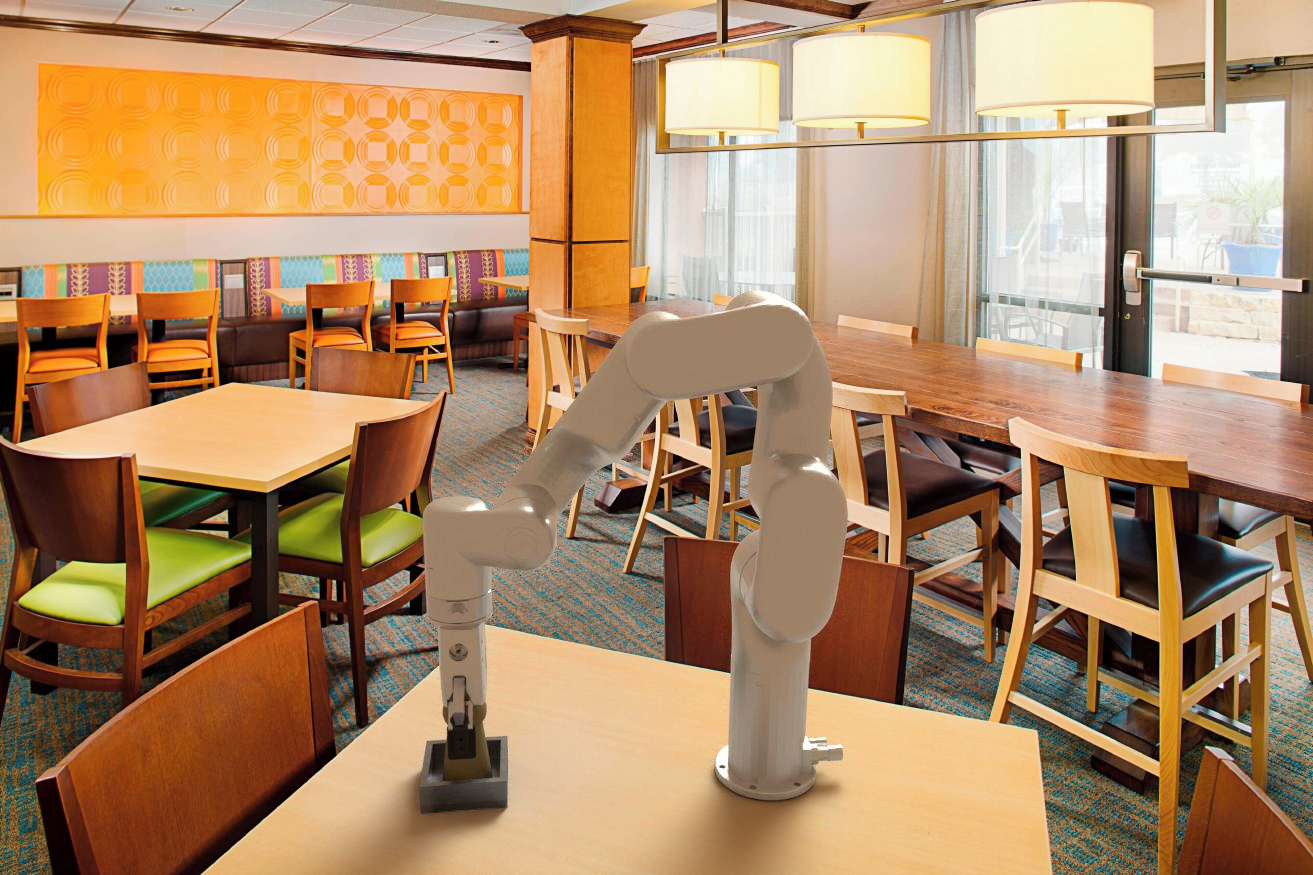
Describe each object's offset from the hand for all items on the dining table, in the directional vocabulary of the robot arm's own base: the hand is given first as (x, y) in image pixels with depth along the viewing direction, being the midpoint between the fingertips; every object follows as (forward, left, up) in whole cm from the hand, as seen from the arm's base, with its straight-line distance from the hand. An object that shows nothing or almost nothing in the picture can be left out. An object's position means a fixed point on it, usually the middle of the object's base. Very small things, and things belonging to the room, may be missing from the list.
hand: (464, 735), depth 118 cm
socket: (0, 0, -7) cm, 7 cm away
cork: (0, 0, -6) cm, 6 cm away
